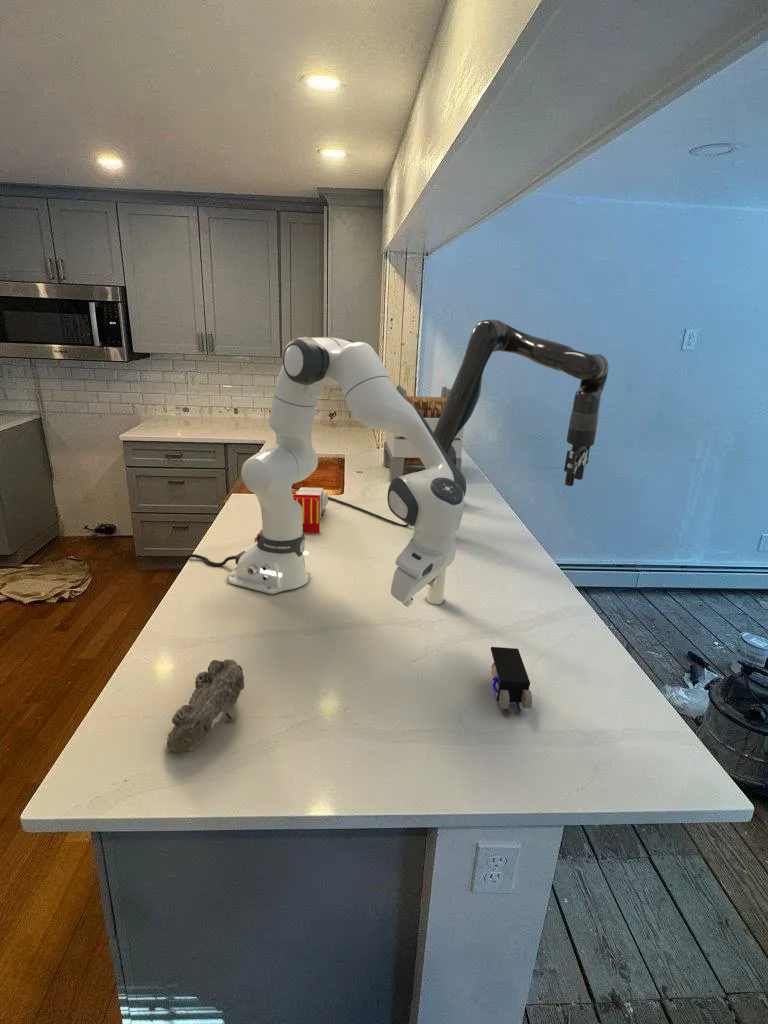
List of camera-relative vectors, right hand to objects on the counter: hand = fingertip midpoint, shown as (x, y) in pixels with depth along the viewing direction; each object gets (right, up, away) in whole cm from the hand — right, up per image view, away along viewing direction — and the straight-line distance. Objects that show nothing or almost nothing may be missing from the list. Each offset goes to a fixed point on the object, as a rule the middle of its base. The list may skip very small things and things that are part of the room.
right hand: (573, 482), depth 165 cm
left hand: (-47, -27, -36) cm, 65 cm away
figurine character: (-30, -47, -48) cm, 73 cm away
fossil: (-88, -48, -57) cm, 115 cm away
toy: (-83, -12, +44) cm, 94 cm away
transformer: (-38, +10, +110) cm, 116 cm away
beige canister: (-41, -33, -10) cm, 54 cm away
